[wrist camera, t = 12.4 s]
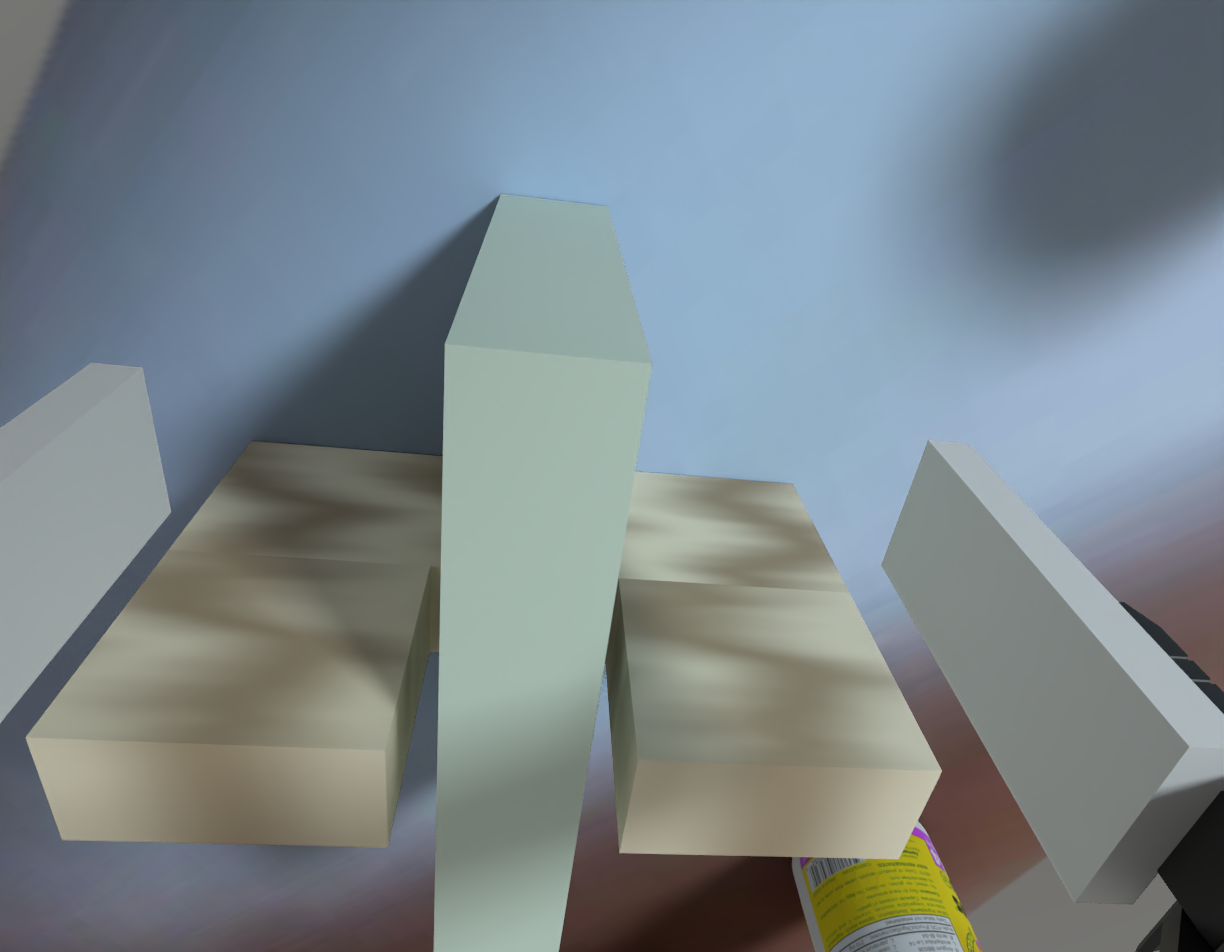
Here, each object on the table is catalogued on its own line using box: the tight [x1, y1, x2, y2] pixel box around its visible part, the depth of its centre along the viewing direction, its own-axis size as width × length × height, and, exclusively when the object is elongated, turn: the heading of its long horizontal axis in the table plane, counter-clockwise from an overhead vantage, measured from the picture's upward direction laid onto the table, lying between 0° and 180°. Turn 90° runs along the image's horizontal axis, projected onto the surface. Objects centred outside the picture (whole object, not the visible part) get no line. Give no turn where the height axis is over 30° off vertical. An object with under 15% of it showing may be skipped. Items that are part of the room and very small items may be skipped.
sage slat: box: [434, 194, 652, 952], centre depth 21 cm, size 20×3×12 cm, turn 173°
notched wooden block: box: [25, 441, 942, 859], centre depth 21 cm, size 18×3×12 cm, turn 83°
